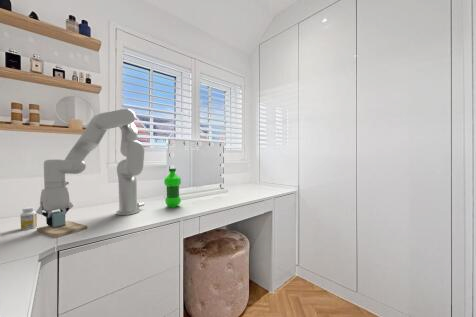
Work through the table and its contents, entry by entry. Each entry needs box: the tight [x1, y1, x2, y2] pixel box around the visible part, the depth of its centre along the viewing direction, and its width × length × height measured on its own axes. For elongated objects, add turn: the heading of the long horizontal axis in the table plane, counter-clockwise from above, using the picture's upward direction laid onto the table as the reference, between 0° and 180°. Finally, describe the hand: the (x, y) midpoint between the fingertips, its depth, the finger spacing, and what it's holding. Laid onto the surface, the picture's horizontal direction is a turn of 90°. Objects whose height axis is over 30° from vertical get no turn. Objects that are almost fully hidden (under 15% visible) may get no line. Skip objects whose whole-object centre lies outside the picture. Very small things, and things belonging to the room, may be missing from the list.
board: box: [36, 220, 88, 238], centre depth 97 cm, size 12×18×1 cm, turn 62°
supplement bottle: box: [20, 206, 38, 231], centre depth 100 cm, size 5×5×10 cm
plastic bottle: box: [163, 167, 182, 208], centre depth 137 cm, size 10×10×25 cm
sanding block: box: [47, 210, 66, 228], centre depth 99 cm, size 7×4×6 cm, turn 62°
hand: (56, 223), depth 99 cm, fingers closed on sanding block, 4 cm apart
